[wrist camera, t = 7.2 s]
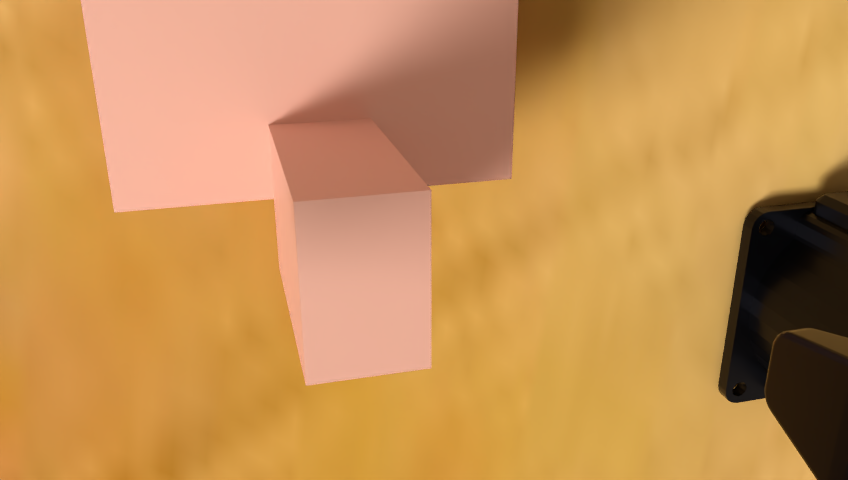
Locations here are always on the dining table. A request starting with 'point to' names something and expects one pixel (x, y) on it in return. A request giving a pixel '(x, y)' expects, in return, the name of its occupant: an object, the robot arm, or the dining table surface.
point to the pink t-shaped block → (314, 142)
